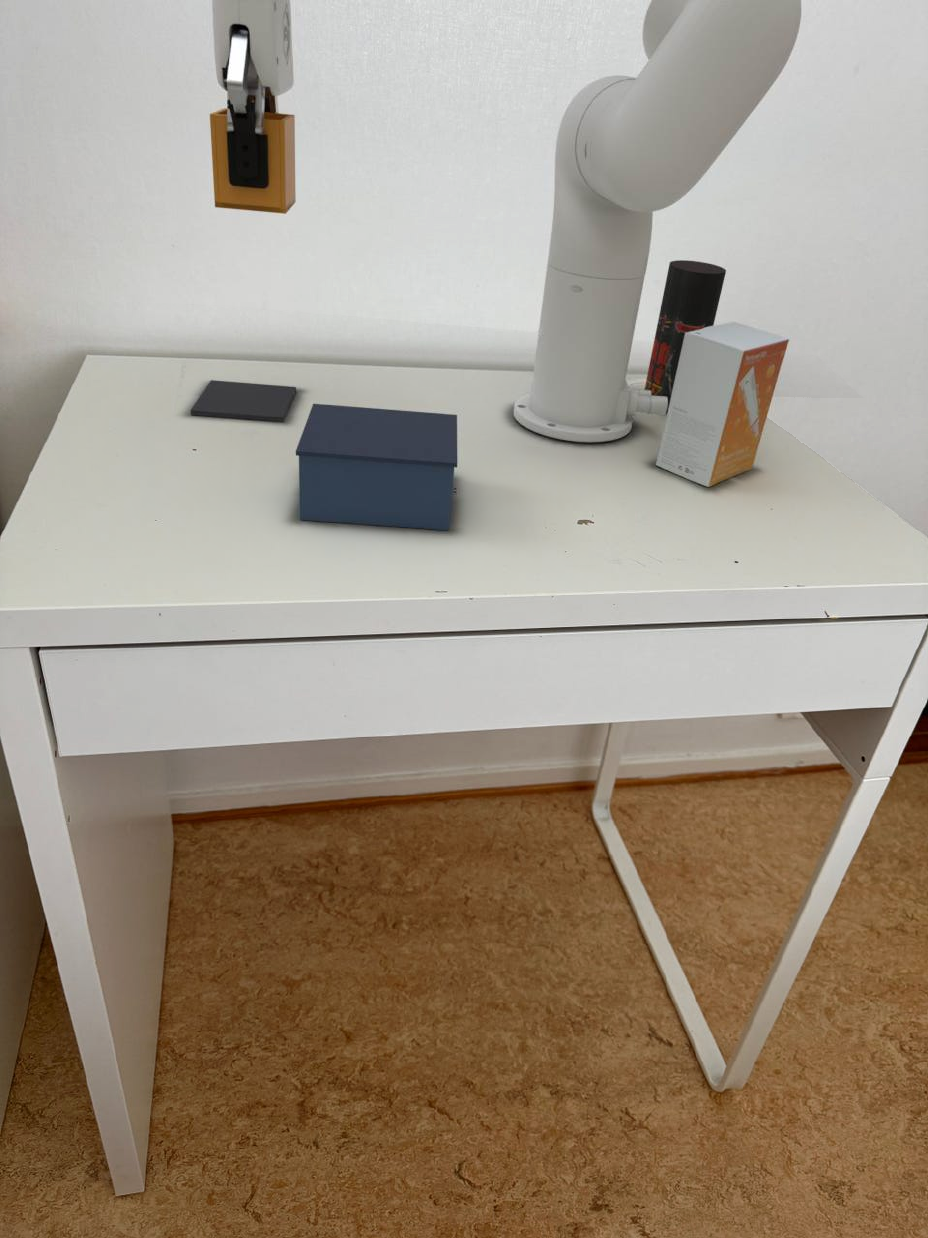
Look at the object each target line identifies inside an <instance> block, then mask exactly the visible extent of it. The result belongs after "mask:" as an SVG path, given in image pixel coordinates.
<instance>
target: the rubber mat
mask: <svg viewBox="0 0 928 1238" xmlns="http://www.w3.org/2000/svg"><path fill="white" fill-rule="evenodd" d="M296 393H297V386H290V385H288V386H287V385H275V384H262V383H251V382H239V381H238V382H237V381H227V380H214V379H213V380H210V381H209V382H208V384H206V387H205V388H204V390H203V391H202V393H200V396H199V397H198V399H197V400H196V402H195V403H194V404H193V405H192V408H191V409H190V415H191V416H201V417H214V418H215V417H216V418H227V419H239V420H252V421H255V420H256V421H264V422H265V421H266V422H276V423H277V422H278V423H283V422H284V421H285V419H286V417H287V414H288V411H289V409H290V407H291V404H292V402H293V400H294V397H295V395H296Z"/></svg>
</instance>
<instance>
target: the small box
mask: <svg viewBox="0 0 928 1238" xmlns="http://www.w3.org/2000/svg"><path fill="white" fill-rule="evenodd" d="M789 341H790V338H788V337H784V336H781V335H778V334H774V333H771V332H768V331H765V330H762V329H760V328H755V327H753V326H749V325H746V324H743V323H739V322H737V321H730V322H726V323H721V324H714V325H713V326H709V327H705V328H703V329H700V330H695V331H691V332H686V333H685V336H684V340H683V345H682V349H681V354H680V358H679V363H678V367H677V372H676V376H675V381H674V385H673V390H672V394H671V399H670V404H669V408H668V412H666V418H665V423H664V426H663V431H662V436H661V440H660V445H659V449H658V453H657V458H656V462H655V465H656V466H658V467H659V468H661V469H664V470H666V471H668V472H671V473H673V474H675V475H677V476H680V477H682V478H685V479H687V480H690V481H691V482H694V483H697V484H699V485H702V486H704V487H707V488H710V487H712V486H714V485H716V484H718V483H720V482H723V481H725V480H727V479H730V478H733V477H735V476H737V475H739V474H742V473H745V472H747V471H750V470H752V469H753V467H754V462H755V460H756V455H757V452H758V450H759V449H758V448H759V445H760V442H761V438H762V435H763V431H764V428H765V423H766V422H767V416H768V414H769V411H770V407H771V403H772V401H773V397H774V393H775V389H776V386H777V382H778V379H779V376H780V373H781V369H782V366H783V362H784V358H785V354H786V352H787V348H788V344H789Z"/></svg>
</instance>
